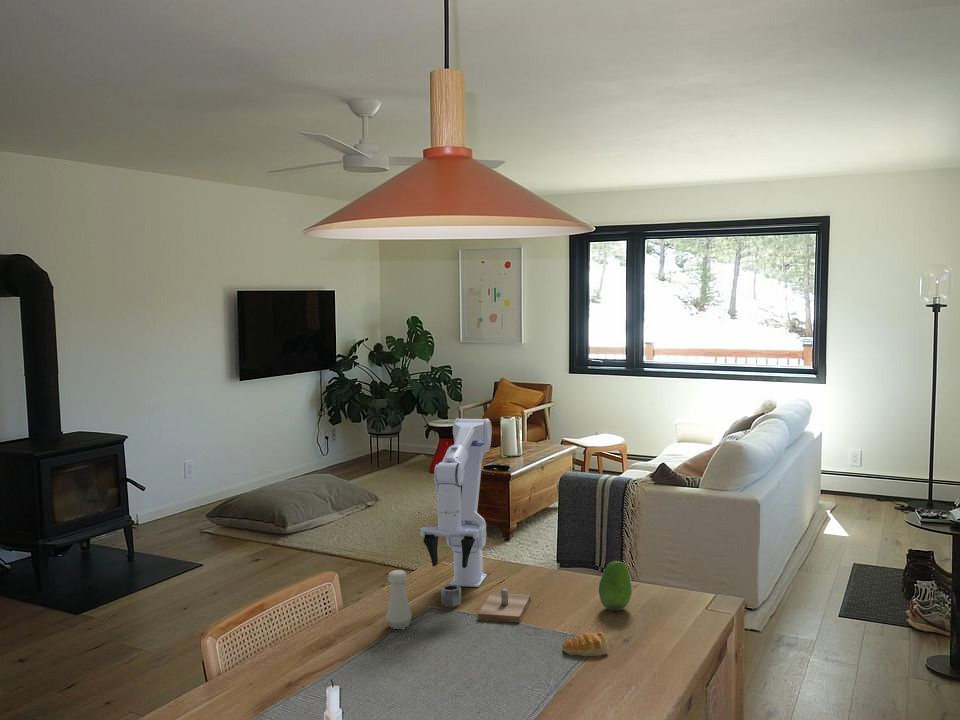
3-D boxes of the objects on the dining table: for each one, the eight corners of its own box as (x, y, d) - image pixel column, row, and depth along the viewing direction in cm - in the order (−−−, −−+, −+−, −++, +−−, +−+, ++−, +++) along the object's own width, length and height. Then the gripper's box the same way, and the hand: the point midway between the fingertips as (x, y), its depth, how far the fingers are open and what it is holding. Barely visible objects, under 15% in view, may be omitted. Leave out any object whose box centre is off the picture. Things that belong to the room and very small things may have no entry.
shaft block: (491, 598, 206) (490, 579, 206) (530, 601, 204) (530, 581, 204) (477, 619, 193) (477, 599, 192) (519, 622, 190) (519, 601, 190)
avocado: (636, 614, 193) (635, 564, 193) (604, 617, 192) (603, 566, 192) (625, 602, 201) (625, 554, 200) (594, 604, 200) (593, 556, 199)
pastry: (567, 660, 170) (566, 642, 170) (559, 647, 177) (558, 630, 177) (610, 656, 172) (610, 638, 172) (601, 643, 178) (600, 626, 178)
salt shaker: (410, 631, 187) (408, 575, 186) (385, 631, 187) (383, 576, 186) (412, 621, 193) (411, 567, 192) (388, 621, 193) (386, 567, 192)
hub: (445, 599, 206) (444, 584, 206) (462, 600, 205) (462, 585, 205) (439, 606, 202) (439, 590, 202) (457, 607, 201) (457, 591, 201)
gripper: (416, 513, 200) (416, 568, 200) (473, 515, 197) (474, 571, 197) (425, 507, 207) (425, 561, 207) (480, 509, 204) (481, 564, 204)
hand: (449, 566), depth 203 cm, fingers open, 7 cm apart
